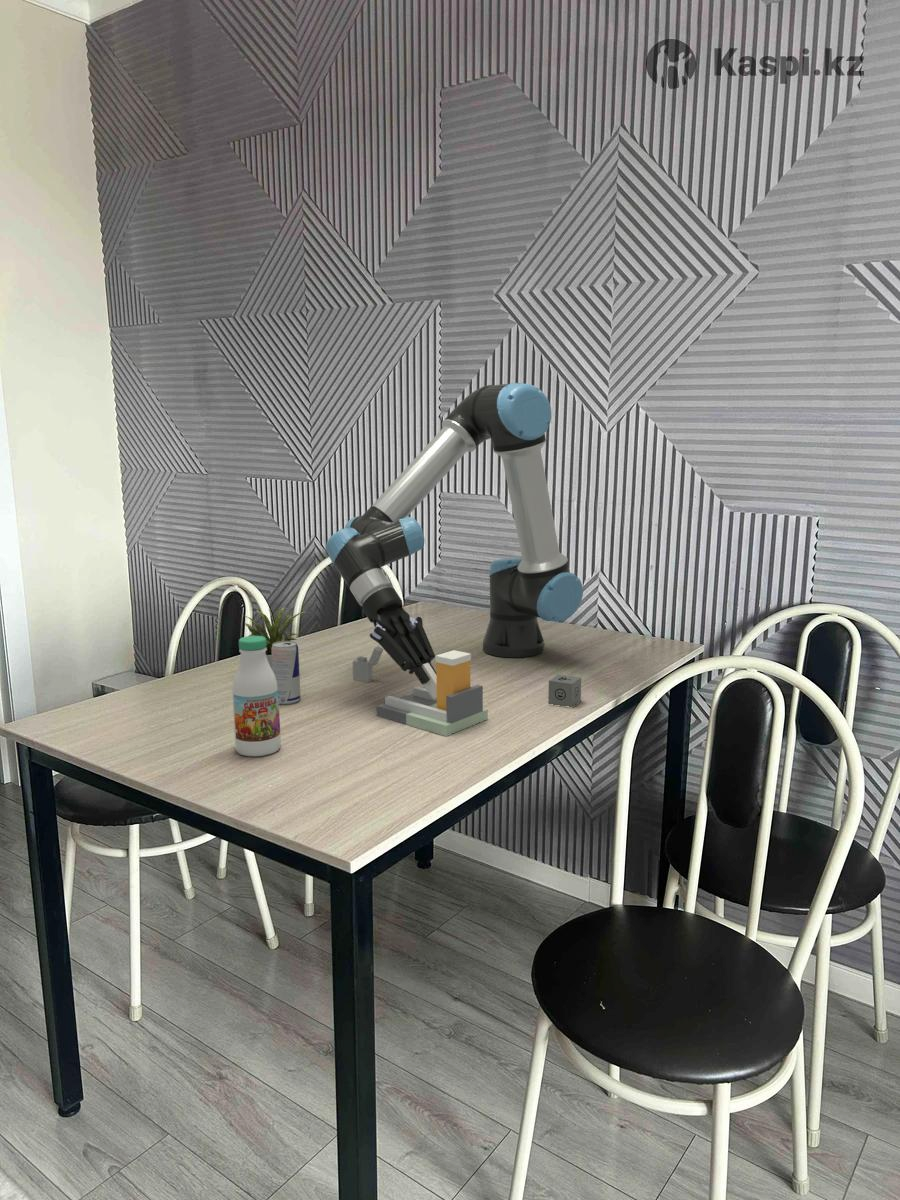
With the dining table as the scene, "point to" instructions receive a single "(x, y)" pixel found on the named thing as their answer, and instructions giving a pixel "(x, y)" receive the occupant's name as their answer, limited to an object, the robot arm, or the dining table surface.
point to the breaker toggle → (451, 675)
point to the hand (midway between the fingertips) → (439, 695)
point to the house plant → (272, 630)
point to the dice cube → (564, 690)
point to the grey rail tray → (436, 710)
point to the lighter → (366, 665)
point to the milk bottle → (255, 701)
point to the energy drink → (286, 671)
